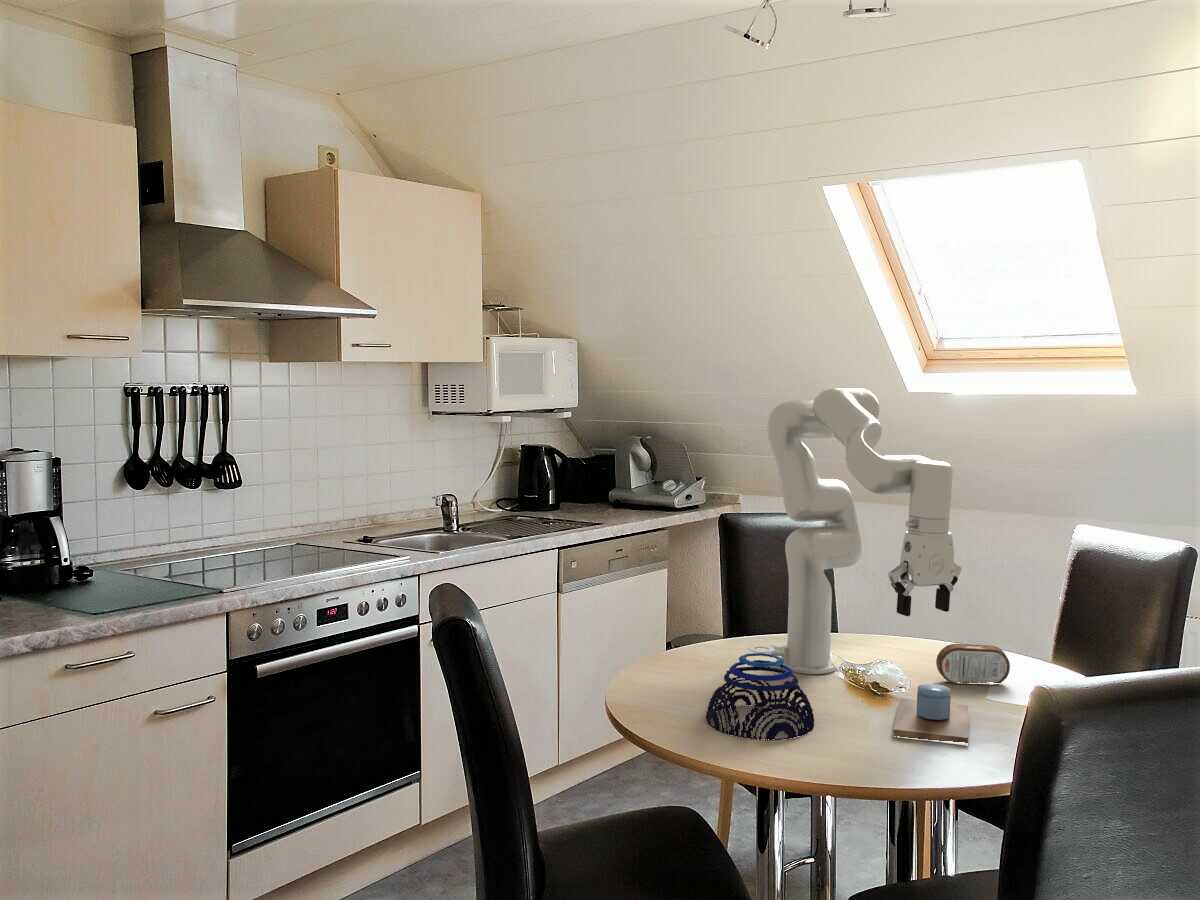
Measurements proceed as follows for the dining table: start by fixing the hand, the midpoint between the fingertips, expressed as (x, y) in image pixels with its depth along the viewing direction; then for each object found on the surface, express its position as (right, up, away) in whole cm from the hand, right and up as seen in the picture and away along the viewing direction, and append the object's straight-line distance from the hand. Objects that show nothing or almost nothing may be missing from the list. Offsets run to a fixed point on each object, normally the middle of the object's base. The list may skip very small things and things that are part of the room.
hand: (922, 612), depth 212 cm
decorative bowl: (-32, -21, -4) cm, 38 cm away
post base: (+1, -21, -4) cm, 21 cm away
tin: (+17, -19, +23) cm, 34 cm away
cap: (+1, -19, -4) cm, 19 cm away
